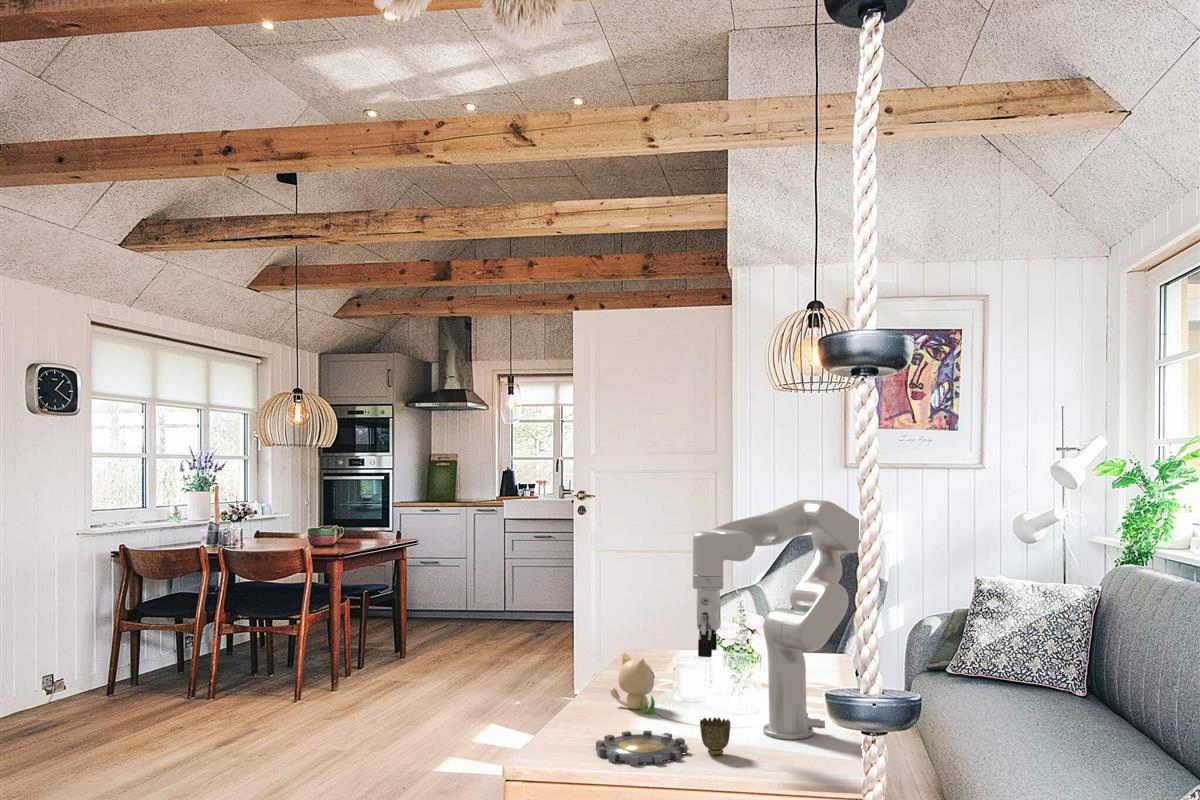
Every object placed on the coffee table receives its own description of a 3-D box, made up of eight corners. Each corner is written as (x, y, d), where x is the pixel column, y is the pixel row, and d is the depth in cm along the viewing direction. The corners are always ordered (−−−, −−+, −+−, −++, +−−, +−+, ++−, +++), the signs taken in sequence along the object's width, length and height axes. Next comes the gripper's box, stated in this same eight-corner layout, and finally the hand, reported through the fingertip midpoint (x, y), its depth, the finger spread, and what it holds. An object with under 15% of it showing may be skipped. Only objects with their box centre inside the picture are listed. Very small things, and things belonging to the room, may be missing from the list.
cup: (730, 760, 230) (729, 726, 230) (698, 758, 231) (698, 724, 232) (732, 750, 237) (731, 717, 238) (701, 749, 239) (701, 716, 239)
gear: (691, 740, 247) (691, 732, 247) (681, 768, 225) (681, 760, 225) (605, 736, 251) (605, 728, 251) (587, 763, 229) (587, 755, 229)
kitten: (667, 711, 274) (666, 657, 274) (638, 717, 268) (637, 661, 269) (637, 700, 286) (636, 648, 287) (608, 705, 281) (608, 652, 282)
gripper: (719, 587, 231) (718, 660, 230) (727, 579, 248) (726, 647, 247) (687, 585, 233) (687, 658, 232) (697, 578, 250) (697, 646, 248)
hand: (707, 653), depth 239 cm, fingers open, 9 cm apart
